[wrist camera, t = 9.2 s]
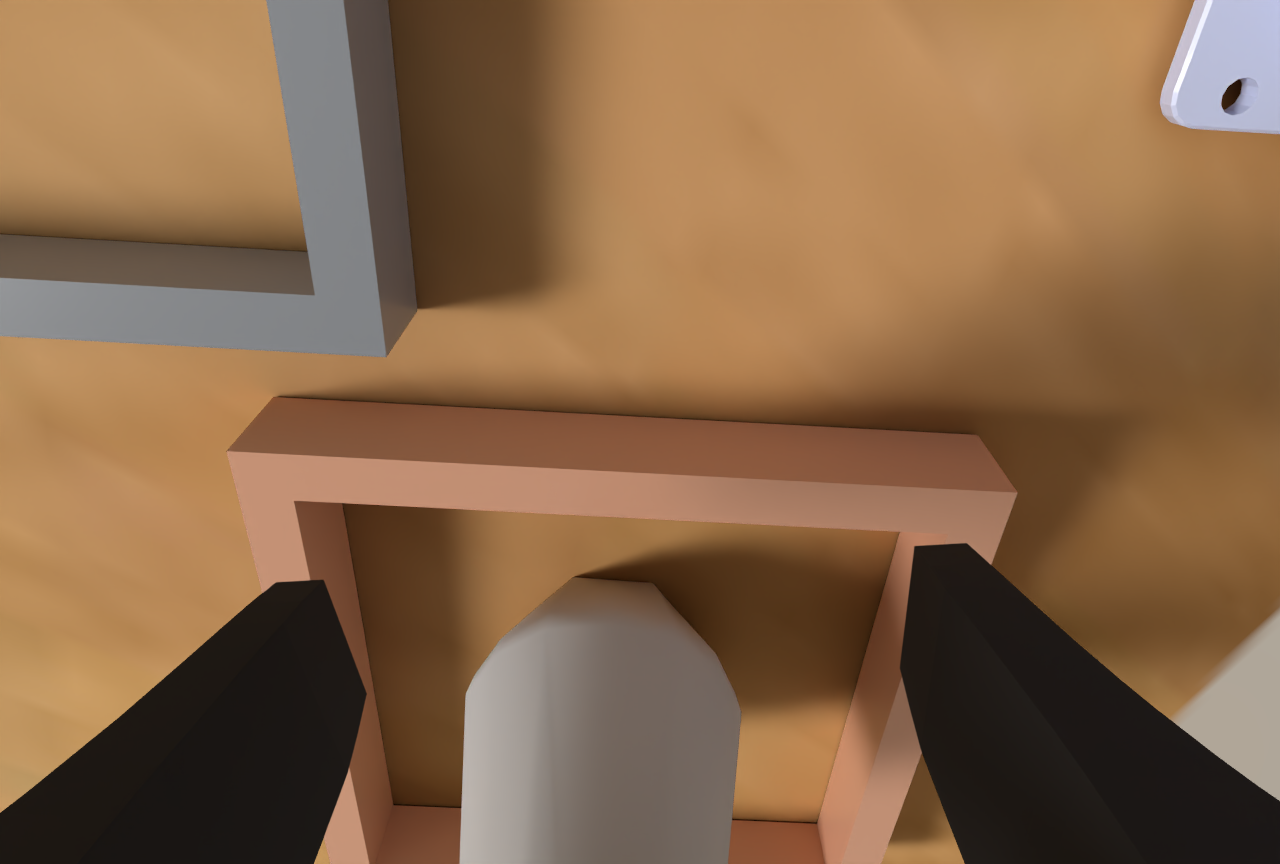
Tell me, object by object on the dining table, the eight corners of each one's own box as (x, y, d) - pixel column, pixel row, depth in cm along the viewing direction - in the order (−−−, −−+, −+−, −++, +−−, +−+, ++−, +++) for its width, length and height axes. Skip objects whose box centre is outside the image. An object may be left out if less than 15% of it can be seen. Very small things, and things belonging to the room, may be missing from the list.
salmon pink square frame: (977, 434, 16) (1017, 492, 14) (845, 846, 23) (861, 917, 21) (273, 396, 16) (226, 451, 14) (361, 825, 23) (338, 895, 21)
